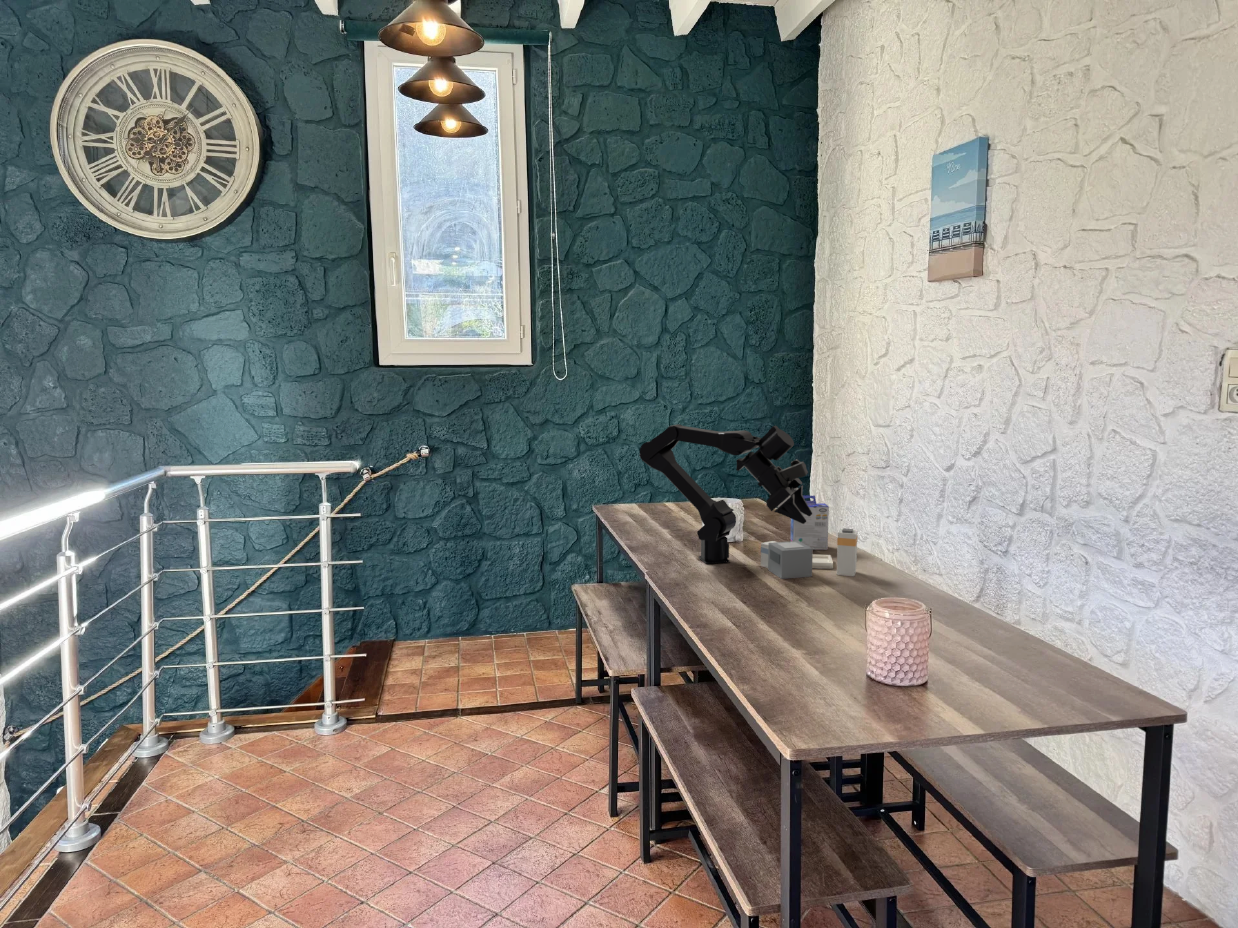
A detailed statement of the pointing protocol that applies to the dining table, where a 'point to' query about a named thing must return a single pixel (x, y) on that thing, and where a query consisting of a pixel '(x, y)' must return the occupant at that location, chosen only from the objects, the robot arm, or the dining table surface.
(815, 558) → the tray
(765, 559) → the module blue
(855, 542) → the block
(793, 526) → the ink cartridge box
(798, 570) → the block
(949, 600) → the dining table surface
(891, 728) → the dining table surface
